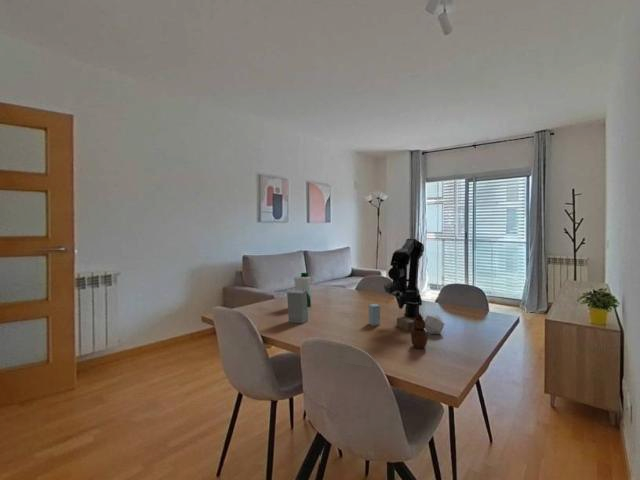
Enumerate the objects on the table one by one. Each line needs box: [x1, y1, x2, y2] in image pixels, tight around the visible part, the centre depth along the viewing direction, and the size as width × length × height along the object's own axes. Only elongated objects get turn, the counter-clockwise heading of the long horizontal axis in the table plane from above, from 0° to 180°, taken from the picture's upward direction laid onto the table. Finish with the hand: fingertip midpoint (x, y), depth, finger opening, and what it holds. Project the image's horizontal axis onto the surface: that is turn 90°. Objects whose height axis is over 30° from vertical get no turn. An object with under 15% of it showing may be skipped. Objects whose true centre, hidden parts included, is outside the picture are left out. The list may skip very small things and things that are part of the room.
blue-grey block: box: [368, 303, 381, 327], centre depth 169 cm, size 4×4×10 cm
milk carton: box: [293, 272, 312, 308], centre depth 205 cm, size 9×9×20 cm
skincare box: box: [286, 289, 309, 324], centre depth 174 cm, size 8×7×16 cm
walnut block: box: [396, 316, 414, 332], centre depth 163 cm, size 4×4×10 cm
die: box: [424, 315, 445, 335], centre depth 155 cm, size 8×9×10 cm
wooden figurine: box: [410, 309, 428, 349], centre depth 137 cm, size 7×6×15 cm
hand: (400, 308), depth 167 cm, fingers closed
